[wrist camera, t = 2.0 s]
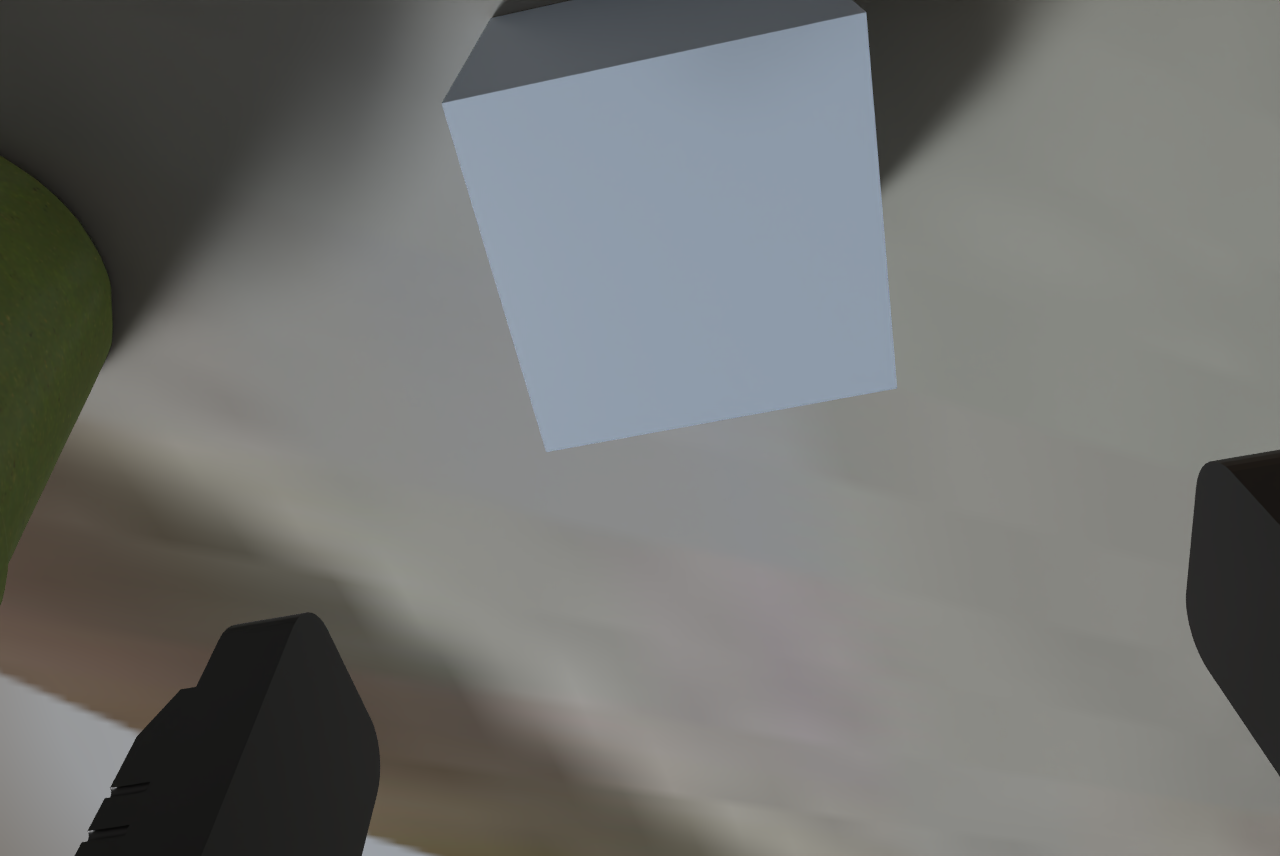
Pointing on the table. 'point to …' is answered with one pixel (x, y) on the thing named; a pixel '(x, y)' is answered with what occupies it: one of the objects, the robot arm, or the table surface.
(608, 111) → the pale grey cube
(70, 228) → the plant pot
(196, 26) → the table surface
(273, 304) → the table surface
